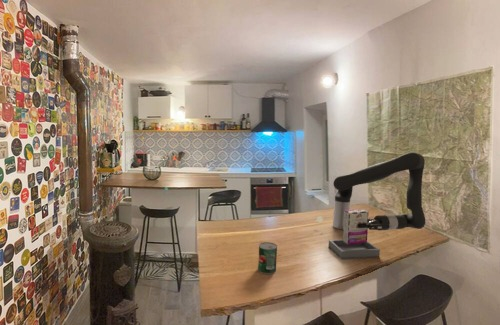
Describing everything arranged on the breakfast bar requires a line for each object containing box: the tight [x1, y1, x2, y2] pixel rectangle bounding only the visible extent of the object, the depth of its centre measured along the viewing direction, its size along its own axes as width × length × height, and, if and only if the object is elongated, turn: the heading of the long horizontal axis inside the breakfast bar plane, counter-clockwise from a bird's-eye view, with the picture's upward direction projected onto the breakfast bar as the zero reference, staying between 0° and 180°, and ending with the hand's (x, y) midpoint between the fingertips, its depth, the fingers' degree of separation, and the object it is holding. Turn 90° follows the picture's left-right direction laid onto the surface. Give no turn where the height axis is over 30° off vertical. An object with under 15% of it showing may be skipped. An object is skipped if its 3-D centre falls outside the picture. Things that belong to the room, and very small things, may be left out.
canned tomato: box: [257, 241, 278, 275], centre depth 129 cm, size 8×8×11 cm
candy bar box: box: [342, 208, 369, 245], centre depth 149 cm, size 11×5×16 cm, turn 105°
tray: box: [328, 239, 381, 260], centre depth 151 cm, size 14×20×4 cm
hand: (355, 223), depth 149 cm, fingers closed on candy bar box, 5 cm apart
